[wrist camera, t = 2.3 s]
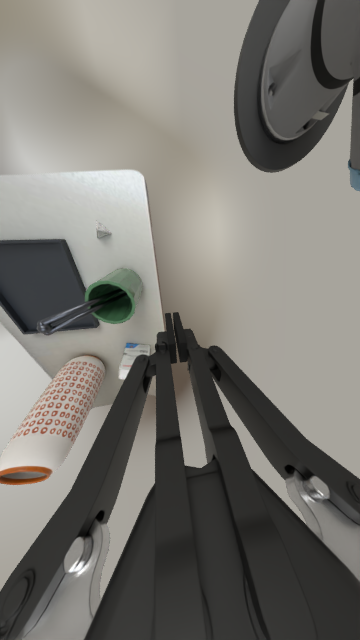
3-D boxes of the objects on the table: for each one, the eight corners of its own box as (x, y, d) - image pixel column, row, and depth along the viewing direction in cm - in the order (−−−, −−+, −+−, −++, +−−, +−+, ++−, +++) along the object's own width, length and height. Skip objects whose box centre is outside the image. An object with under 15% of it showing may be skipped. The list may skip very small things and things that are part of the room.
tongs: (95, 282, 34) (29, 324, 17) (138, 280, 36) (119, 318, 18) (98, 290, 35) (39, 338, 18) (139, 288, 37) (123, 331, 19)
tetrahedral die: (110, 241, 32) (111, 242, 30) (97, 237, 30) (97, 238, 28) (110, 224, 30) (111, 224, 28) (96, 220, 29) (96, 219, 26)
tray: (-38, 241, 27) (-52, 241, 26) (65, 239, 30) (59, 239, 28) (29, 330, 39) (23, 334, 37) (99, 324, 41) (97, 327, 40)
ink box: (125, 352, 49) (117, 380, 39) (126, 342, 46) (118, 369, 36) (148, 354, 51) (146, 381, 41) (150, 344, 49) (148, 370, 39)
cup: (111, 263, 33) (84, 273, 21) (145, 274, 36) (138, 289, 24) (108, 294, 37) (84, 318, 25) (139, 302, 40) (131, 327, 28)
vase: (90, 344, 45) (11, 461, 21) (116, 366, 52) (79, 472, 28) (60, 360, 46) (-47, 485, 22) (89, 379, 53) (31, 490, 29)
